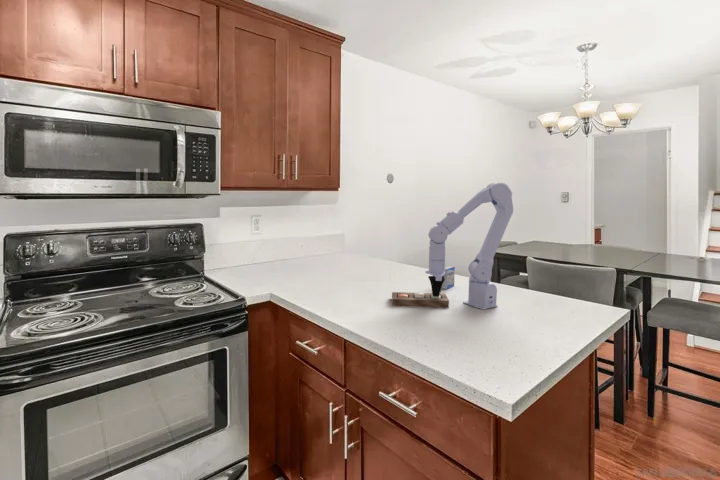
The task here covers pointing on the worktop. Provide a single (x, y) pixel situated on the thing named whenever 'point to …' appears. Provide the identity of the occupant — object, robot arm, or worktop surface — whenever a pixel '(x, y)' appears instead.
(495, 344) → the worktop surface
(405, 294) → the terracotta button
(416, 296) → the cream button
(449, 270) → the medicine box
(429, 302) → the button panel
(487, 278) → the robot arm
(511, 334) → the worktop surface
